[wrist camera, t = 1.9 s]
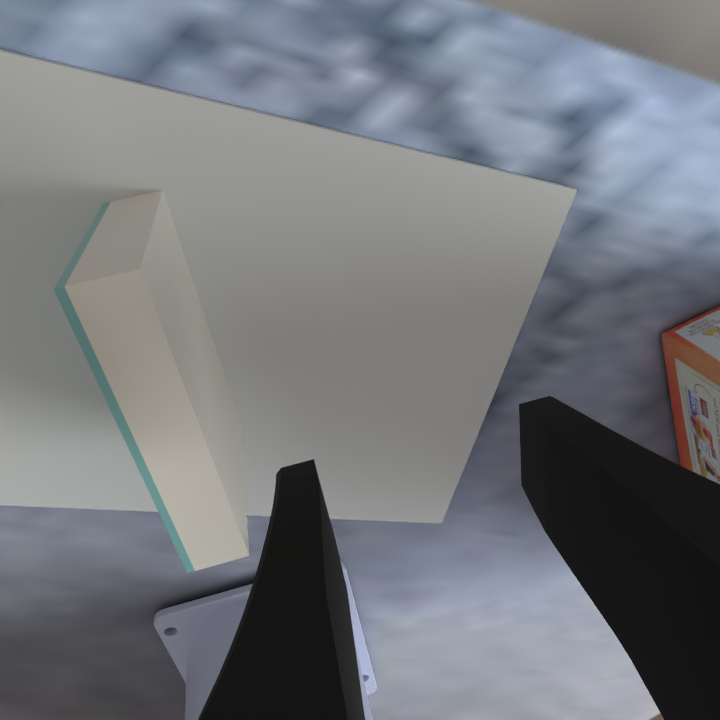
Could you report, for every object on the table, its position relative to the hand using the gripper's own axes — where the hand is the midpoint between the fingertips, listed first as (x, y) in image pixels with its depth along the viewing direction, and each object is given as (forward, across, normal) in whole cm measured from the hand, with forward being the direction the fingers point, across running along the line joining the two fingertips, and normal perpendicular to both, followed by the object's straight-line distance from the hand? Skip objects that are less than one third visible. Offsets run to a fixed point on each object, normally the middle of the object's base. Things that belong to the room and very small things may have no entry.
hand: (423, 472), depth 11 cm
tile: (+9, +5, 0) cm, 10 cm away
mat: (+9, +4, +1) cm, 10 cm away
